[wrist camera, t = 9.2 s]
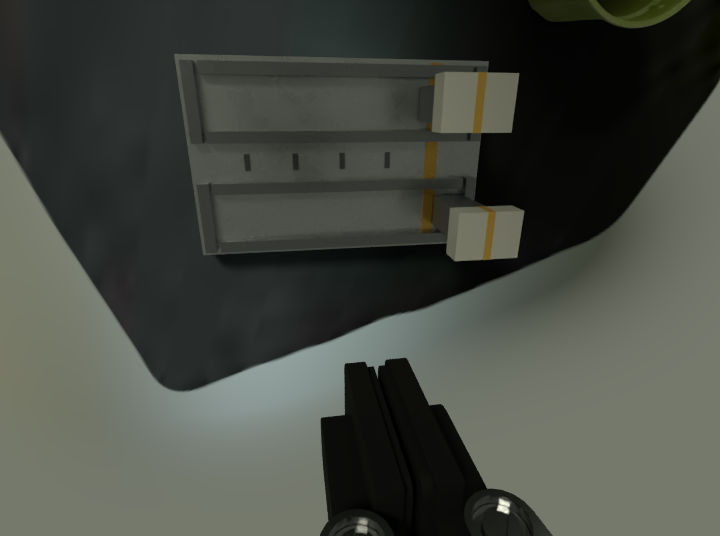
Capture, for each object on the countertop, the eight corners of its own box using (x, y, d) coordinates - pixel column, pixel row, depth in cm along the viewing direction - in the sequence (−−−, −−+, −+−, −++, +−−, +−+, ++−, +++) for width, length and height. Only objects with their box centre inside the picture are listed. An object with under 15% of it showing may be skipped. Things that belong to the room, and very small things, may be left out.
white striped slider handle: (407, 80, 29) (445, 71, 22) (465, 81, 30) (519, 72, 23) (405, 127, 31) (440, 133, 24) (461, 127, 31) (511, 133, 24)
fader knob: (422, 190, 33) (459, 213, 26) (474, 189, 33) (524, 210, 26) (420, 229, 34) (454, 261, 27) (470, 227, 34) (517, 258, 27)
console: (181, 57, 29) (171, 52, 26) (477, 64, 32) (493, 60, 29) (208, 247, 34) (201, 258, 31) (460, 235, 37) (473, 244, 34)
